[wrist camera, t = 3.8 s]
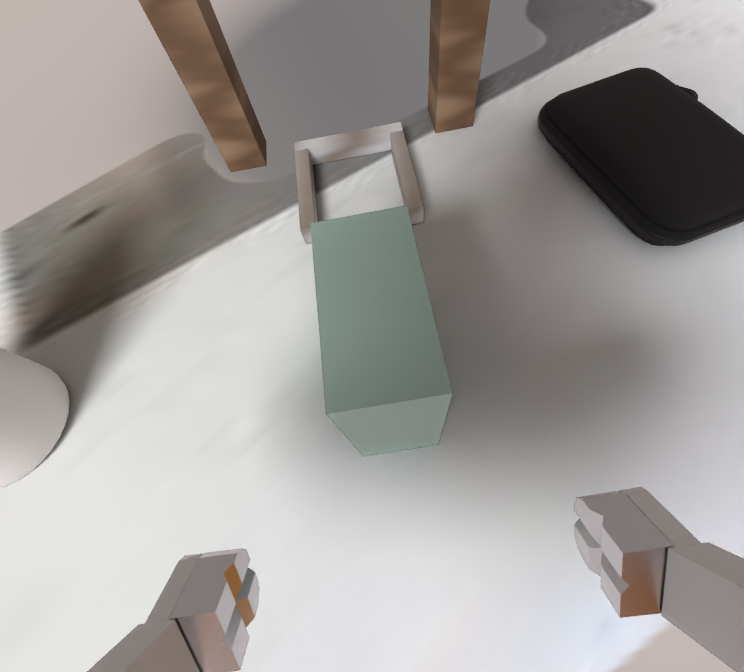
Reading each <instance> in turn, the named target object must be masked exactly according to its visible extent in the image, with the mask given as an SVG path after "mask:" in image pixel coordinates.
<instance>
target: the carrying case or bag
mask: <svg viewBox="0 0 744 672" xmlns="http://www.w3.org/2000/svg"><path fill="white" fill-rule="evenodd" d="M697 99H698V95H697V93H696V92H695V91H693V90H691V89H688V88H684V87H681V86H678V85H675V84H674V83H672V82H671V81H670V80H668V79H667V78H665V77H664V76H663V75H661V74H660V73H658V72H656V71H654V70H652V69H648V68H635V69H631V70H628V71H625V72H622V73H619V74H616V75H613V76H610V77H608V78H605V79H602V80H599V81H596V82H593V83H590V84H588V85H585V86H582V87H579V88H576V89H573V90H571V91H568V92H565V93H562V94H560V95H558V96H557V97H555V98H554V99H552V100H550V101H549V102H547V103H546V104H545V105H544V106H543V108H542V109H541V111H540V113H539V116H538V125H539V128H540V130H541V131H542V133H543V134H544V135H545V137H546V139H547V140H548V141H549V143H550V144H551V145H552V146H553V147H554V148H555V149H556V150H557V151H558V153H559V154H560V155H561V156H562V157H563V158H564V159H565V160H566V161H567V162H568V163H569V164H570V166H571V167H572V168H573V169H574V170H575V171H576V172H577V173H578V174H579V175H580V176H581V178H582V179H583V180H584V181H585V182H586V183H587V184H588V185H589V186H590V187H591V188H592V189H593V190H594V191H595V192H596V193H597V195H598V196H599V197H600V198H601V199H602V200H603V201H604V202H605V203H606V204H607V205H608V206H609V207H610V208H611V209H612V210H613V211H614V212H615V213H616V214H617V215H618V217H619V218H620V219H621V220H622V221H623V222H624V223H625V224H626V225H627V226H628V227H629V228H630V229H631V230H632V231H633V232H634V233H635V234H636V235H637V236H638V237H640V238H641V239H643V240H644V241H646V242H648V243H650V244H652V245H658V246H664V245H666V246H677V245H683V244H686V243H689V242H692V241H694V240H697V239H699V238H702V237H705V236H707V235H710V234H712V233H715V232H717V231H720V230H723V229H725V228H728V227H730V226H733V225H736V224H738V223H741V222H743V221H744V135H743V134H742V133H741V132H739V131H738V130H737V129H735V128H734V127H733V126H731V125H730V124H729V123H727V122H726V121H725V120H723V119H722V118H721V117H719V116H718V115H717V114H715V113H714V112H713V111H711V110H710V109H709V108H707V107H706V106H704V105H703V104H702V103H700V102H699V101H698V100H697Z"/></svg>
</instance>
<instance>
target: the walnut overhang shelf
mask: <svg viewBox="0 0 744 672" xmlns="http://www.w3.org/2000/svg"><path fill="white" fill-rule="evenodd" d="M139 2H140V4H141V6H142V8H143V10H144V11H145V13H146V15H147V17H148V19H149V21H150V23H151V24H152V26H153V28H154V30H155V32H156V33H157V36H158V37H159V39H160V41H161V43H162V45H163V47H164V48H165V51H166V52H167V54H168V56H169V58H170V60H171V61H172V64H173V65H174V67H175V69H176V71H177V73H178V75H179V76H180V78H181V80H182V82H183V84H184V86H185V88H186V90H187V91H188V93H189V95H190V97H191V99H192V101H193V102H194V104H195V106H196V108H197V110H198V112H199V114H200V116H201V117H202V119H203V121H204V123H205V125H206V127H207V129H208V130H209V132H210V134H211V136H212V138H213V140H214V142H215V144H216V145H217V147H218V149H219V151H220V153H221V155H222V157H223V158H224V160H225V162H226V164H227V166H228V168H229V170H230V171H231V172H235V171H240V170H245V169H251V168H256V167H261V166H266V140H265V138H264V135H263V133H262V130H261V128H260V125H259V123H258V120H257V118H256V115H255V113H254V110H253V108H252V105H251V103H250V100H249V98H248V95H247V93H246V90H245V88H244V85H243V83H242V80H241V78H240V75H239V73H238V70H237V68H236V65H235V63H234V60H233V58H232V55H231V53H230V50H229V48H228V45H227V43H226V40H225V38H224V35H223V33H222V31H221V28H220V26H219V23H218V21H217V18H216V15H215V13H214V11H213V8H212V5H211V3H210V1H209V0H139ZM489 5H490V0H431V16H430V17H431V18H430V55H429V93H428V112H429V115H430V118H431V121H432V124H433V127H434V130H435V133H438V132H443V131H448V130H454V129H459V128H464V127H469V126H473V120H474V112H475V105H476V98H477V91H478V84H479V77H480V70H481V62H482V55H483V48H484V41H485V34H486V27H487V19H488V12H489ZM389 150H391V152H392V156H393V160H394V164H395V168H396V172H397V176H398V181H399V185H400V189H401V193H402V197H403V201H404V205H405V206H407V208H408V212H409V216H410V220H411V224H412V225H413V224H418V223H423V216H424V206H423V202H422V199H421V195H420V191H419V188H418V184H417V180H416V177H415V173H414V169H413V166H412V162H411V158H410V155H409V151H408V147H407V144H406V140H405V136H404V133H403V129H402V125H401V122H398V123H393V124H388V125H382V126H377V127H372V128H368V129H362V130H357V131H351V132H346V133H341V134H336V135H331V136H326V137H320V138H315V139H310V140H305V141H300V142H295V158H296V173H297V188H298V203H299V218H300V230H301V233H302V235H303V238H304V240H305V242H306V244H309V243H312V237H311V225H310V223H315V222H318V216H317V205H316V195H315V185H314V174H313V165H315V164H321V163H326V162H331V161H336V160H342V159H347V158H352V157H357V156H363V155H368V154H373V153H378V152H383V151H389Z"/></svg>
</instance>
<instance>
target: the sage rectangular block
mask: <svg viewBox="0 0 744 672" xmlns="http://www.w3.org/2000/svg"><path fill="white" fill-rule="evenodd" d="M310 225H311V237H312V249H313V261H314V273H315V285H316V298H317V310H318V322H319V334H320V346H321V358H322V370H323V382H324V394H325V406H326V415H327V416H328V417H329V418H330V419H331V420H332V421H333V423H334V424H335V425H336V426H337V427H338V428H339V429H340V431H341V432H342V433H343V434H344V435H345V436H346V437H347V439H348V440H349V441H350V442H351V443H352V444H353V445H354V447H355V448H356V449H357V450H358V451H359V452H360V453H361V455H362V456H363V457H364V456H370V455H377V454H383V453H389V452H395V451H401V450H408V449H414V448H420V447H426V446H433V445H438V444H439V441H440V437H441V434H442V430H443V426H444V423H445V419H446V416H447V412H448V408H449V405H450V401H451V398H452V394H453V392H452V388H451V384H450V380H449V376H448V372H447V368H446V364H445V359H444V355H443V351H442V347H441V343H440V339H439V335H438V331H437V327H436V323H435V319H434V314H433V310H432V306H431V302H430V298H429V294H428V290H427V286H426V282H425V278H424V274H423V269H422V265H421V261H420V257H419V253H418V249H417V245H416V241H415V237H414V233H413V229H412V224H411V220H410V216H409V212H408V208H407V206H401V207H396V208H390V209H385V210H380V211H374V212H369V213H363V214H358V215H353V216H347V217H342V218H336V219H331V220H326V221H320V222H315V223H310Z"/></svg>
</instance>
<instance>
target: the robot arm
mask: <svg viewBox="0 0 744 672" xmlns="http://www.w3.org/2000/svg"><path fill="white" fill-rule="evenodd" d="M574 511H575V512H576V514H577V515H578V517H579V520H578V521H577V522H576V524H575V525H574V531H575V539H576V543H577V546H578V549H579V552H580V554H581V556H582V558H583V560H584V561H585V563H586V565H587V566H588V568H589V569H590V570H592V571H593V572H595V573H596V574H598V575H599V576H601V589H602V590H603V592H604V593H605V595H606V597H607V598H608V600H609V601H610V603H611V604H612V606H613V608H614V609H615V611H616V612H617V614H618V615H619V617H620V618H621V617H630V616H640V615H649V614H658V613H662V614H661V616H663V617H664V618H665V619H667V620H668V621H669V622H671V623H672V624H673V625H675V626H676V627H677V628H679V629H680V630H681V631H683V632H684V633H685V634H687V635H688V636H689V637H691V638H692V639H693V640H695V641H696V642H697V643H699V644H700V645H701V646H703V647H704V648H705V649H706V650H708V651H709V652H710V653H712V654H713V655H715V656H716V657H717V658H718V659H720V660H721V661H723V662H724V663H725V664H726V665H728V666H729V667H730V668H732V669H733V670H734V671H736V672H744V559H743V558H741V557H739V556H736V555H734V554H732V553H730V552H728V551H726V550H724V549H722V548H719V547H717V546H715V545H713V544H711V543H709V542H708V543H700V542H699V541H698V540H697V539H696V538H695V537H694V536H693V535H692V534H691V533H690V532H689V531H688V530H687V529H686V528H685V527H684V526H683V525H682V524H681V523H680V522H679V521H678V520H677V519H676V518H675V517H674V516H673V515H672V514H671V513H670V512H669V511H668V510H667V509H666V508H665V507H664V506H662V505H661V504H660V503H659V502H658V501H657V500H656V499H655V498H654V497H653V496H652V495H651V494H650V493H649V492H648V491H647V490H646V489H644V488H642V487H638V488H632V489H625V490H619V491H613V492H607V493H601V494H595V495H588V496H582V497H576V499H575V502H574ZM249 562H250V557H249V555H248V552H247V550H246V549H242V548H241V549H233V550H225V551H216V552H208V553H204V554H195V555H187V556H184V557H183V558H182V559H181V560H179V562H178V563H177V565H176V567H175V569H174V571H173V573H172V574H171V576H170V578H169V580H168V582H167V584H166V586H165V587H164V589H163V591H162V593H161V595H160V597H159V599H158V600H157V602H156V604H155V606H154V608H153V610H152V611H151V613H150V615H149V617H148V619H147V621H146V623H145V624H140V625H138V626H137V627H136V628H134V629H133V630H132V631H131V632H130V633H129V634H128V635H127V636H126V637H125V638H123V639H122V640H121V641H120V642H119V643H118V644H117V645H116V646H115V647H114V648H113V649H111V650H110V651H109V652H108V653H107V654H106V655H105V656H104V657H103V658H102V659H101V660H99V661H98V662H97V663H96V664H95V665H94V666H93V667H92V668H91V669H90V670H89V671H87V672H231V671H237V670H240V669H241V666H242V662H243V659H244V655H245V651H246V648H247V644H248V641H249V635H248V632H247V630H246V627H247V626H248V625H249V623H250V622H251V621H252V620H253V619H254V617H255V615H256V611H257V607H258V600H259V585H258V579H257V576H256V573H255V572H254V571H252V570H251V569H250V568H248V565H249Z"/></svg>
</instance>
